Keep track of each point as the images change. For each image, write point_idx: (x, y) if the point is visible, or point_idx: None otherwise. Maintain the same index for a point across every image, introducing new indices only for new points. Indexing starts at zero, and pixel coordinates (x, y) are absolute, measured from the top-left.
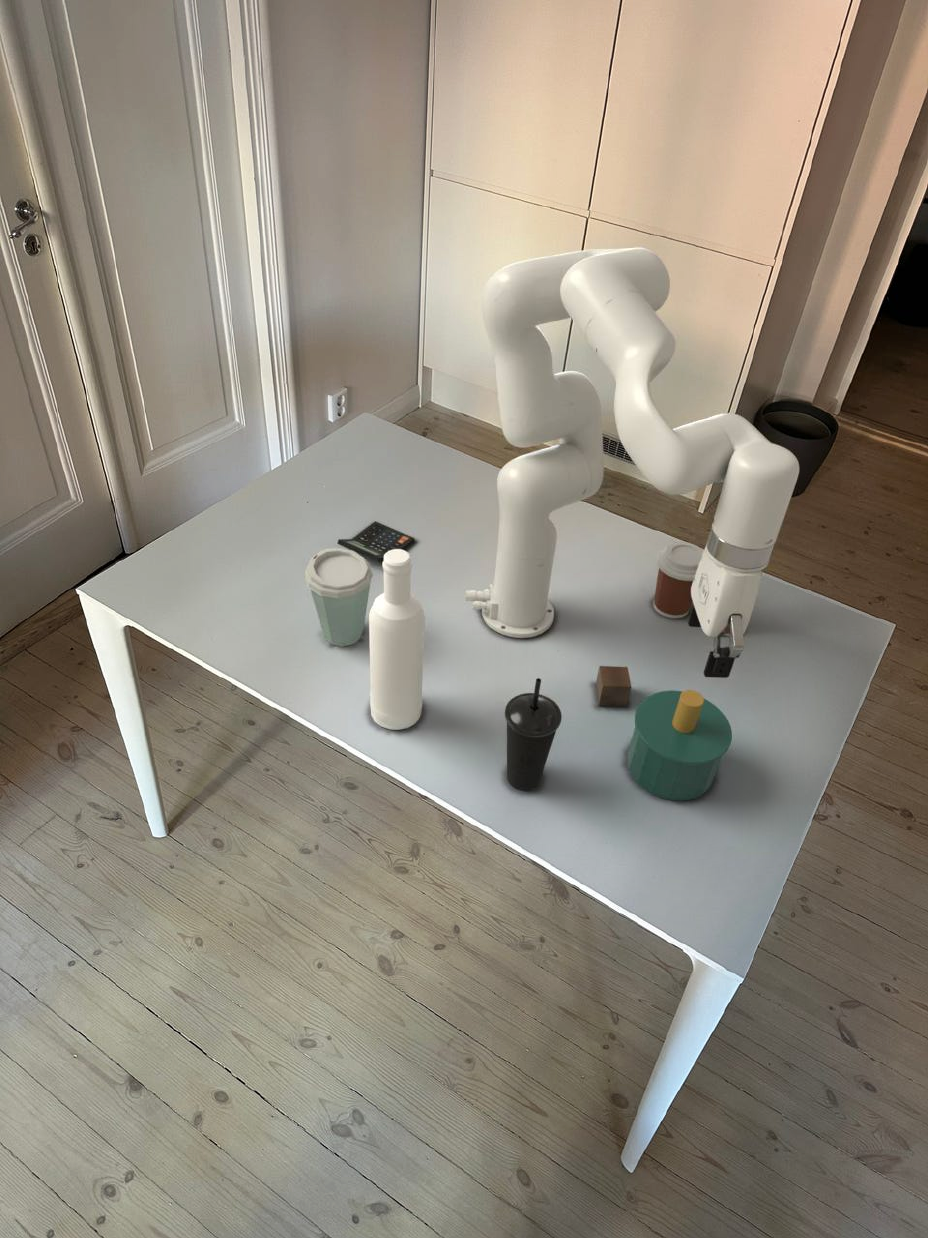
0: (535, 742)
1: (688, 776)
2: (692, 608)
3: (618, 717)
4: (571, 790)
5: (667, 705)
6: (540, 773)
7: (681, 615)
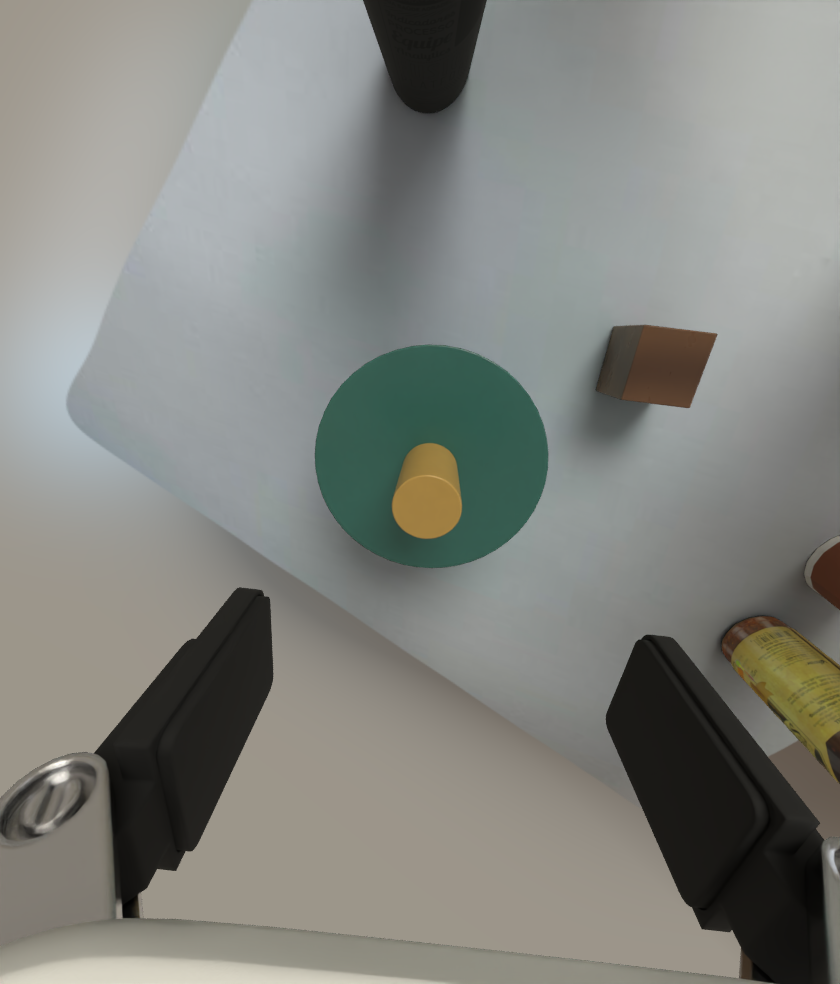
0: None
1: None
2: (750, 751)
3: (570, 364)
4: (386, 197)
5: (498, 450)
6: (389, 66)
7: (809, 574)
